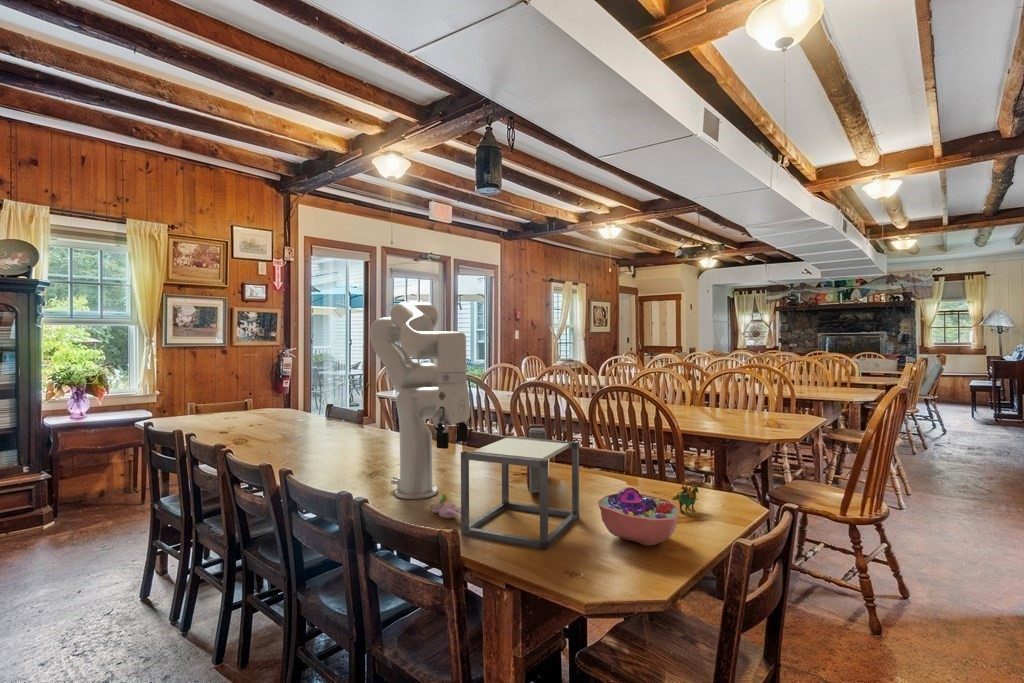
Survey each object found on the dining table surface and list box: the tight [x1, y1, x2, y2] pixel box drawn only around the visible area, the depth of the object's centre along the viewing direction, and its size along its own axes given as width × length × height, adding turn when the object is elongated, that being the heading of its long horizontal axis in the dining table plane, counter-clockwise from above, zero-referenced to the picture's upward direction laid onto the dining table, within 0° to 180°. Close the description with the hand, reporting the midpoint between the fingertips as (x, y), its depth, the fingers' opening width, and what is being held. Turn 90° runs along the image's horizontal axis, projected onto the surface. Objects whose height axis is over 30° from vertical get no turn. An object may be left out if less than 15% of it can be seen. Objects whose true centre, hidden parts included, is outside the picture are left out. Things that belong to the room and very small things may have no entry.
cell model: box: [597, 487, 680, 547], centre depth 121 cm, size 17×20×11 cm
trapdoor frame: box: [460, 435, 580, 551], centre depth 130 cm, size 22×23×20 cm
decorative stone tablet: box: [526, 424, 549, 493], centre depth 166 cm, size 19×6×30 cm
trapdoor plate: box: [471, 438, 569, 461], centre depth 130 cm, size 18×19×1 cm
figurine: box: [671, 481, 699, 515], centre depth 139 cm, size 3×12×8 cm, turn 128°
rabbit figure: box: [429, 494, 461, 520], centre depth 137 cm, size 6×6×15 cm
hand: (452, 444), depth 137 cm, fingers open, 9 cm apart
